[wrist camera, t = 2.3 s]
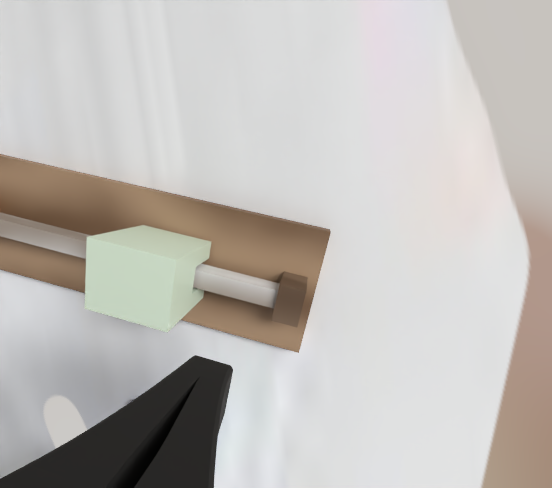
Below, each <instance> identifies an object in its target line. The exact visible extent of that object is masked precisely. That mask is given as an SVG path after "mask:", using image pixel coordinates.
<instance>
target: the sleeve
mask: <svg viewBox="0 0 552 488" xmlns="http://www.w3.org/2000/svg"><path fill="white" fill-rule="evenodd" d="M210 248H211V241H207V240H203V239H198V238H194V237H190V236H186V235H182V234H178V233H174V232H170V231H166V230H162V229H158V228H153V227H149V226H145V225H141V226H136V227H131V228H127V229H122V230H117V231H112V232H107V233H103V234H98V235H93V236H88V237H87V243H86V278H85V309H87V310H91V311H94V312H98V313H101V314H105V315H108V316H112V317H115V318H119V319H122V320H126V321H129V322H133V323H136V324H140V325H143V326H147V327H150V328H154V329H157V330H161V331H164V332H169V331H170V330H171V329H172V328H173V327H174V326H175V325H176V324H177V323H178V322H179V321H180V320H181V319H182V318H183V317H184V316H185V315H186V314H187V313H188V312H189V311H190V310H191V309H192V308H193V307H194V306H195V305H196V304H197V303H198V302H199V301H200V300H201V299H202V298H203V295H204V290H202V289H198V288H194V287H193V283H194V276H195V269H196V267H197V266H198V265H200V264H201V263H203V262H204V261H206V260H207V259H209V255H210Z"/></svg>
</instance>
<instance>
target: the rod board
mask: <svg viewBox="0 0 552 488" xmlns="http://www.w3.org/2000/svg"><path fill="white" fill-rule="evenodd" d="M141 225H145V226H149V227H153V228H158V229H162V230H166V231H170V232H174V233H178V234H182V235H186V236H190V237H194V238H198V239H203V240H207V241H211V248H210V255H209V259H207V260H206V261H204V262H203V263H201V264H200V265H198V266H197V267H196V269H195V276H194V283H193V287H194V288H198V289H202V290H204V295H203V298H202V299H201V300H200V301H199V302H198V303H197V304H196V305H195V306H194V307H193V308H192V309H191V310H190V311H189V312H188V313H187V314H186V315H185V316H184V317H183V318H182V319H181V320H184V321H187V322H191V323H194V324H198V325H201V326H205V327H209V328H212V329H216V330H219V331H223V332H227V333H230V334H234V335H237V336H241V337H244V338H248V339H252V340H255V341H259V342H262V343H266V344H270V345H273V346H277V347H280V348H284V349H287V350H291V351H295V352H298V353H299V349H300V346H301V342H302V338H303V334H304V331H305V327H306V323H307V319H308V315H309V312H310V308H311V304H312V300H313V297H314V293H315V289H316V285H317V282H318V278H319V274H320V270H321V266H322V263H323V259H324V255H325V251H326V248H327V244H328V240H329V236H330V229H325V228H321V227H316V226H312V225H308V224H303V223H299V222H295V221H290V220H286V219H281V218H277V217H273V216H268V215H264V214H260V213H255V212H251V211H246V210H242V209H238V208H233V207H229V206H225V205H220V204H216V203H211V202H207V201H203V200H198V199H194V198H190V197H185V196H181V195H177V194H172V193H168V192H163V191H159V190H155V189H150V188H146V187H142V186H137V185H133V184H128V183H124V182H120V181H115V180H111V179H107V178H102V177H98V176H93V175H89V174H85V173H80V172H76V171H72V170H67V169H63V168H58V167H54V166H50V165H45V164H41V163H37V162H32V161H28V160H23V159H19V158H15V157H10V156H6V155H2V154H0V269H1V270H4V271H8V272H12V273H15V274H19V275H22V276H26V277H30V278H33V279H37V280H40V281H44V282H47V283H51V284H55V285H58V286H62V287H65V288H69V289H73V290H76V291H80V292H83V293H85V278H86V243H87V237H88V236H93V235H98V234H103V233H107V232H112V231H117V230H122V229H127V228H131V227H136V226H141Z"/></svg>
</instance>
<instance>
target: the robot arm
mask: <svg viewBox="0 0 552 488" xmlns="http://www.w3.org/2000/svg"><path fill="white" fill-rule="evenodd" d="M232 372H233V369H232V367H231V366H230V365H227V364H223V363H220V362H217V361H213V360H210V359H206V358H203V357H199V356H196V355H195V356H193V357H192V358H190V359H189V360H188V361H187V362H185V363H184V364H183V365H181V366H180V367H179V368H177V369H176V370H175V371H174V372H172V373H171V374H170V375H168V376H167V377H166V378H164V379H163V380H162V381H160V382H159V383H157V384H156V385H155V386H153V387H152V388H150V389H149V390H148V391H146V392H145V393H143V394H142V395H141V396H139V397H138V398H136V399H135V400H132V401H131V402H130V403H129V404H128V405H126V406H124V407H123V408H121V409H120V410H118V411H117V412H115V413H114V414H112V415H111V416H109V417H108V418H106V419H104V420H103V421H101V422H100V423H98V424H97V425H95V426H94V427H92V428H90V429H89V430H87V431H85V432H84V433H82V434H80V435H79V436H77V437H76V438H74V439H72V440H70V441H69V442H67V443H65V444H64V445H62V446H60V447H58V448H56V449H55V450H53V451H51V452H49V453H48V454H46V455H44V456H42V457H41V458H39V459H37V460H35V461H33V462H31V463H29V464H27V465H26V466H24V467H22V468H20V469H18V470H16V471H14V472H12V473H11V474H9V475H7V476H5V477H3V478H1V479H0V488H214V471H215V458H216V446H217V436H218V433H219V429H220V426H221V423H222V420H223V416H224V413H225V408H226V403H227V398H228V393H229V388H230V383H231V377H232Z"/></svg>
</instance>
